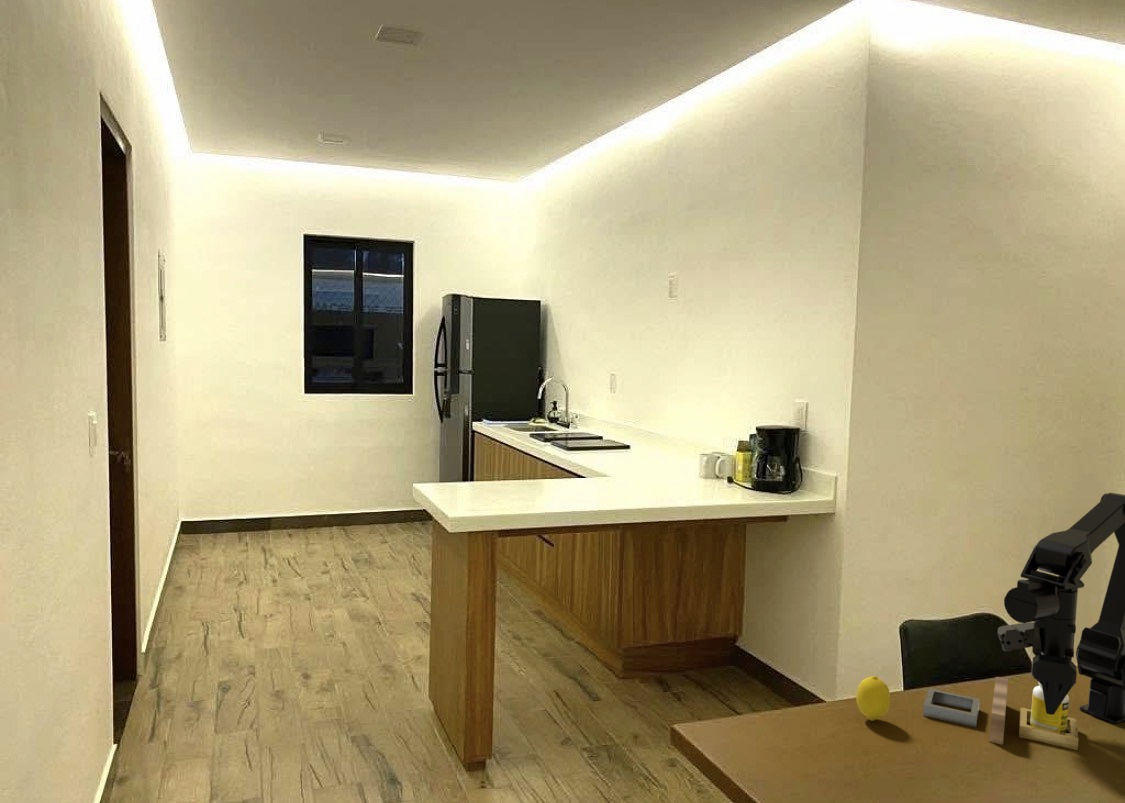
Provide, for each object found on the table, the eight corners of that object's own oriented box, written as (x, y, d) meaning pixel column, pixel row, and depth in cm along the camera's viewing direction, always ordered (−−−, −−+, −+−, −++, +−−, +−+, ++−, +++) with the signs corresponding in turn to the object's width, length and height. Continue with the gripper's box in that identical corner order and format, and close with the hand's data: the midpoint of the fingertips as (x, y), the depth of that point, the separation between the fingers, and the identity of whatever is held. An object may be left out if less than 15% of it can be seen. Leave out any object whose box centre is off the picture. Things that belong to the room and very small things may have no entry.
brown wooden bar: (994, 703, 157) (995, 676, 157) (1006, 705, 156) (1008, 679, 156) (989, 741, 142) (991, 712, 141) (1002, 744, 141) (1004, 715, 140)
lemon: (891, 729, 145) (894, 683, 144) (857, 725, 146) (860, 680, 146) (885, 715, 150) (888, 671, 150) (853, 712, 152) (855, 668, 151)
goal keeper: (1019, 718, 151) (1020, 707, 151) (1075, 730, 147) (1076, 718, 147) (1018, 737, 144) (1019, 725, 143) (1077, 750, 139) (1078, 738, 139)
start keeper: (928, 698, 158) (929, 688, 158) (979, 709, 154) (979, 698, 154) (923, 715, 151) (923, 704, 151) (976, 727, 147) (976, 716, 147)
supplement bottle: (1065, 744, 142) (1070, 686, 141) (1028, 735, 144) (1032, 679, 144) (1066, 731, 146) (1070, 676, 145) (1030, 723, 149) (1034, 669, 148)
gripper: (1004, 592, 156) (998, 675, 157) (1000, 620, 139) (994, 712, 141) (1075, 603, 150) (1068, 689, 151) (1079, 633, 134) (1072, 729, 135)
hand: (1049, 704), depth 145 cm, fingers open, 9 cm apart
